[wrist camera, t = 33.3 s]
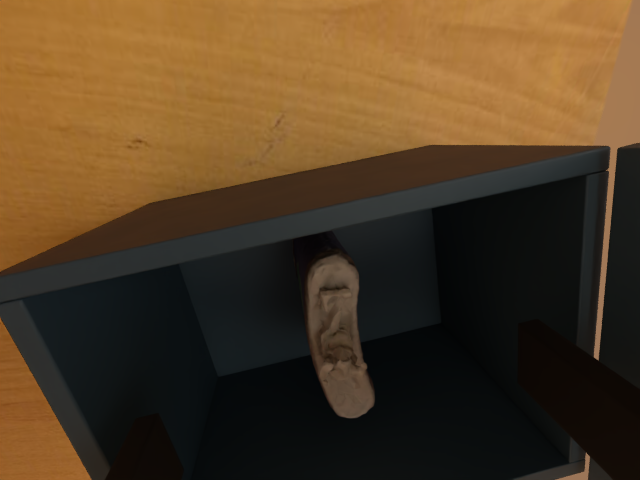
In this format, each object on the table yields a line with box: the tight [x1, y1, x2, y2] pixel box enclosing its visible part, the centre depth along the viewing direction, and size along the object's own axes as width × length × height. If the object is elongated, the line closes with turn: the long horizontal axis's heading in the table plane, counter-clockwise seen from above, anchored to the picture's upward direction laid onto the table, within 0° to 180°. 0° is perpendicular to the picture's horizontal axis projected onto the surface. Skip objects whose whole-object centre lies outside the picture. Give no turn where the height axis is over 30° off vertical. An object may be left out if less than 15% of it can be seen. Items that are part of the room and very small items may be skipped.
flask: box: [292, 230, 375, 418], centre depth 18 cm, size 9×3×11 cm, turn 10°
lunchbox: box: [0, 145, 610, 480], centre depth 18 cm, size 20×15×13 cm
